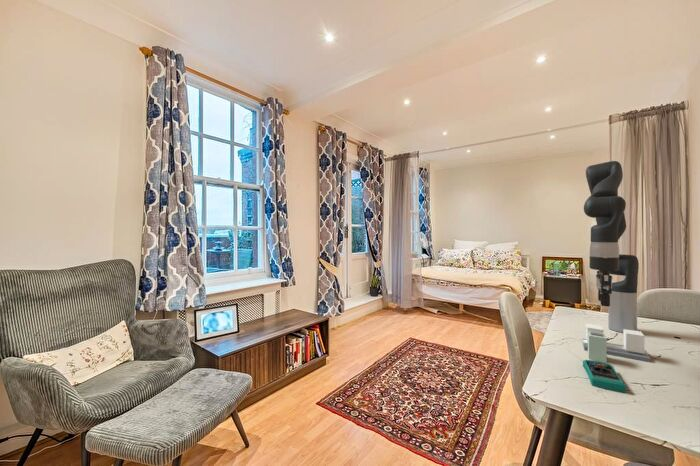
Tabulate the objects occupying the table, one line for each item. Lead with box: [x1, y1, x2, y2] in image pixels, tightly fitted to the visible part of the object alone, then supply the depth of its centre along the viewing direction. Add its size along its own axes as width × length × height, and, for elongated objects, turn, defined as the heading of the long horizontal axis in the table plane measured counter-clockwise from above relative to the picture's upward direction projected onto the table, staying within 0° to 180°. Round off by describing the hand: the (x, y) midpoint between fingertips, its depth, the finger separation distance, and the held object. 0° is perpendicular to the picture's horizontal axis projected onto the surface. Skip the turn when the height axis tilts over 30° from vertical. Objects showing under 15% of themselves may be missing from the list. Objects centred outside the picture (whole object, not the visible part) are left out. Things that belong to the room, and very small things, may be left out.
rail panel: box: [582, 323, 651, 363], centre depth 105 cm, size 10×17×8 cm, turn 54°
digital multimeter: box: [582, 359, 627, 393], centre depth 86 cm, size 7×15×3 cm, turn 149°
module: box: [587, 331, 608, 363], centre depth 99 cm, size 6×4×8 cm
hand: (603, 303), depth 98 cm, fingers open, 8 cm apart
